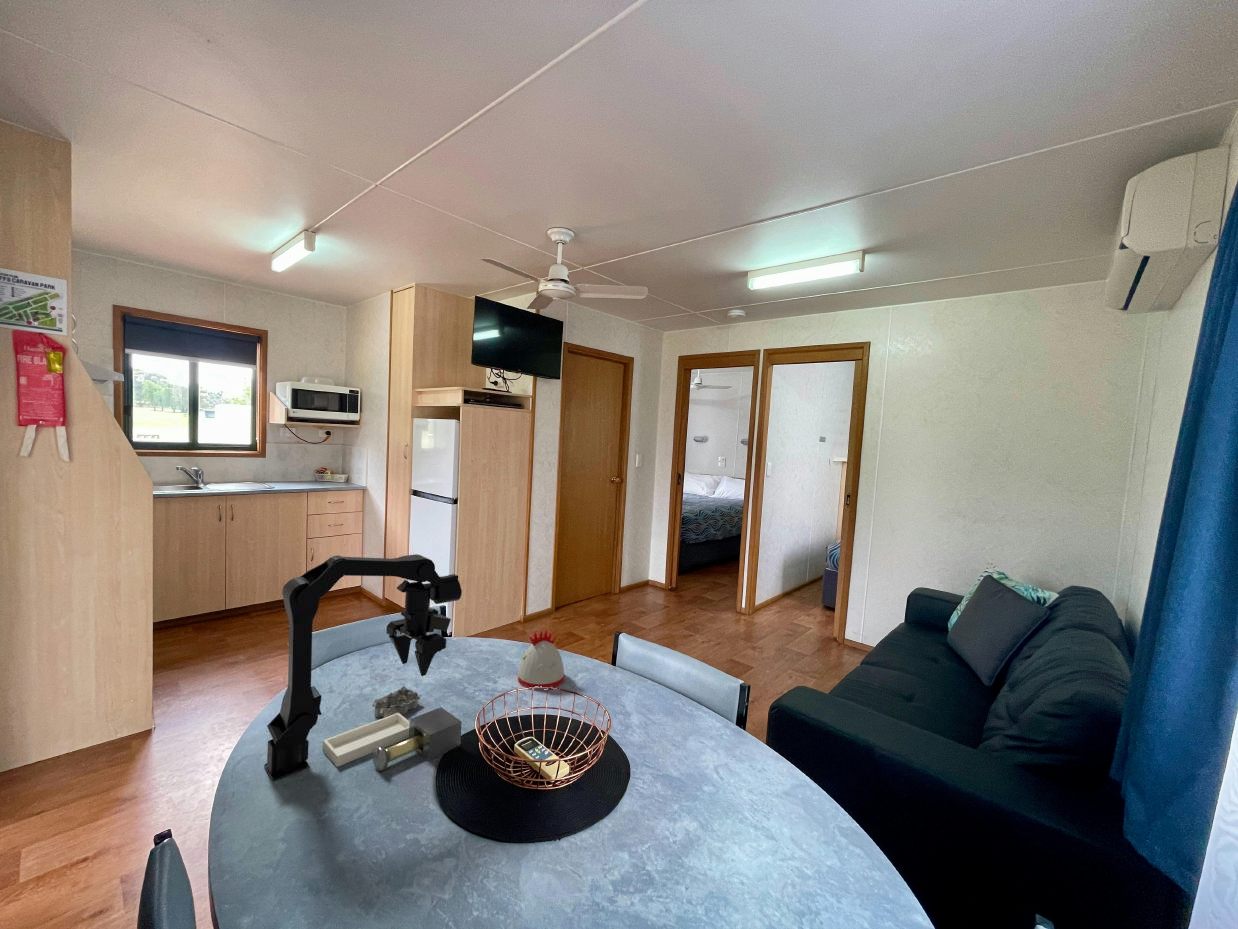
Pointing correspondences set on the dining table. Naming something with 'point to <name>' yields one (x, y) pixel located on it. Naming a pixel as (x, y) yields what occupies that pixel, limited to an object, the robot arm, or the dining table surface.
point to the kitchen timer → (541, 663)
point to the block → (436, 732)
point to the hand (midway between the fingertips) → (413, 669)
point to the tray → (366, 739)
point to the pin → (396, 751)
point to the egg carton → (396, 702)
